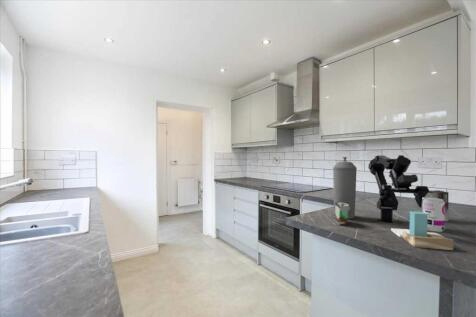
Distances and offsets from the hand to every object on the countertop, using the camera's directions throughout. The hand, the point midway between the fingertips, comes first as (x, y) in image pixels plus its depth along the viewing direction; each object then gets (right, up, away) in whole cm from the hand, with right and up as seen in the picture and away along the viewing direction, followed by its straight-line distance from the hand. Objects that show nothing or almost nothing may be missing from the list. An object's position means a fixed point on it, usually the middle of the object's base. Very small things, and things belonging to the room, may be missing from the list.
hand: (408, 206), depth 103 cm
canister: (-14, -13, +32) cm, 37 cm away
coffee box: (+34, -13, +26) cm, 44 cm away
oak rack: (+1, -13, -8) cm, 16 cm away
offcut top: (+4, -12, -8) cm, 15 cm away
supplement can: (+19, -13, +9) cm, 25 cm away
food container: (-20, -13, +20) cm, 31 cm away
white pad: (+1, -13, +3) cm, 13 cm away
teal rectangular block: (-1, -14, -7) cm, 15 cm away
